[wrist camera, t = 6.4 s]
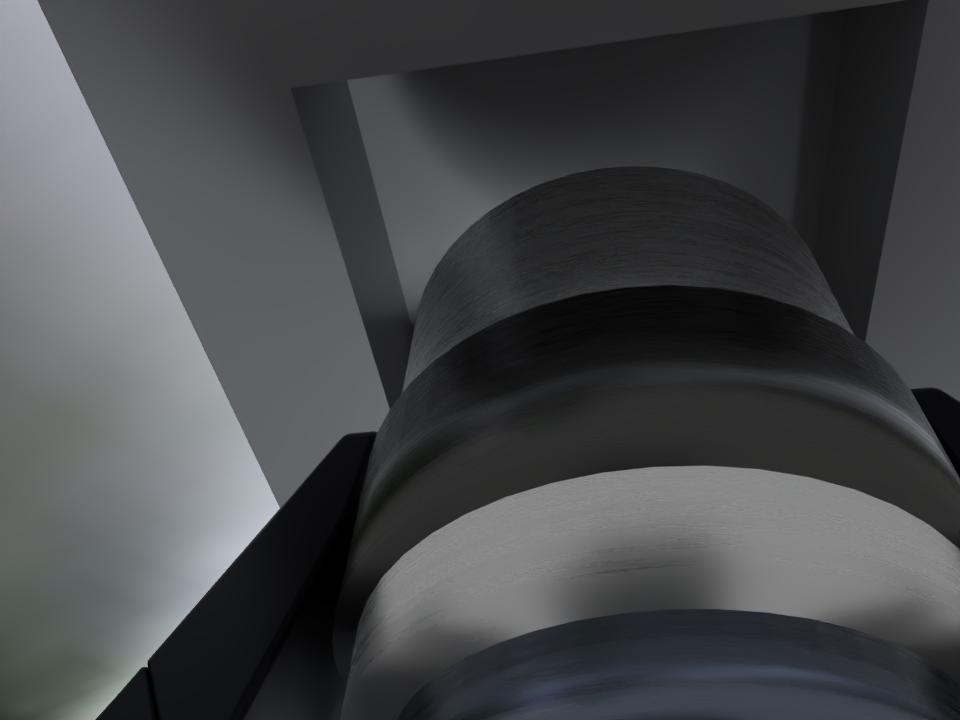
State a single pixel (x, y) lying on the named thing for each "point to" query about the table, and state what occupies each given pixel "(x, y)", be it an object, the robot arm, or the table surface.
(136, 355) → the table surface
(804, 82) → the camera body
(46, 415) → the table surface
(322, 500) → the robot arm
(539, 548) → the lens
